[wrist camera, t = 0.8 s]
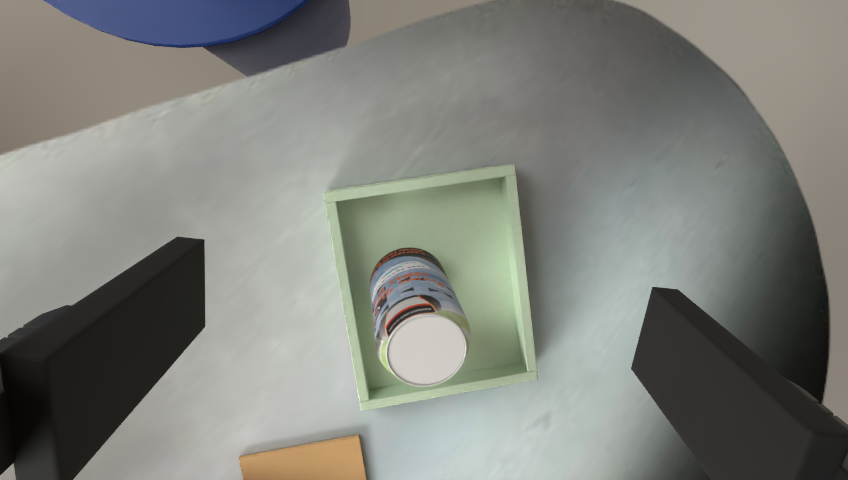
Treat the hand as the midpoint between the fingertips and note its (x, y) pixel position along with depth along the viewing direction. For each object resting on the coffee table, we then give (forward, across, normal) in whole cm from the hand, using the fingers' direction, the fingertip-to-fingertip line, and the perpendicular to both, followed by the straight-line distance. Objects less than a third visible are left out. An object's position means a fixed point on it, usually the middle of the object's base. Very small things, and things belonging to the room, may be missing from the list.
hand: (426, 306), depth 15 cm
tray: (+26, +2, -10) cm, 28 cm away
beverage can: (+26, 0, -10) cm, 28 cm away
